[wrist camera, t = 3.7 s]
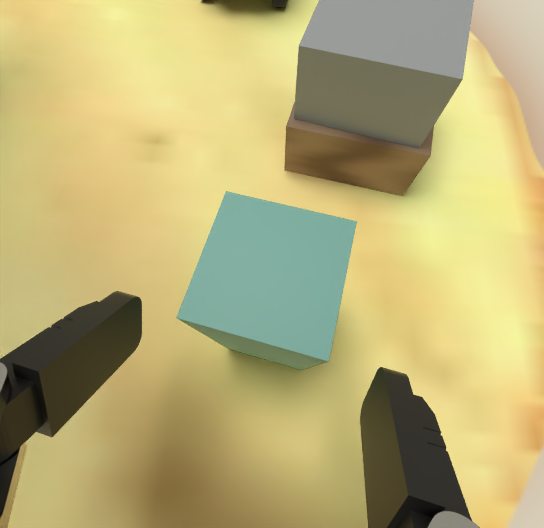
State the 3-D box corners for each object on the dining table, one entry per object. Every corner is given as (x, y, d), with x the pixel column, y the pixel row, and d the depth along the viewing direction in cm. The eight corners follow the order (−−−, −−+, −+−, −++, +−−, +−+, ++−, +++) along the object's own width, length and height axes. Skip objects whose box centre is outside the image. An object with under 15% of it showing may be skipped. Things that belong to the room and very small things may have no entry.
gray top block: (293, 118, 19) (299, 45, 15) (325, 40, 22) (337, -40, 18) (419, 148, 18) (462, 79, 14) (435, 63, 21) (476, -17, 17)
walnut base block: (284, 172, 23) (286, 126, 19) (310, 91, 26) (316, 36, 22) (401, 198, 22) (430, 155, 18) (413, 111, 25) (441, 57, 21)
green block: (227, 348, 18) (176, 317, 9) (250, 279, 20) (226, 191, 10) (301, 369, 18) (328, 361, 8) (317, 297, 19) (356, 221, 10)
